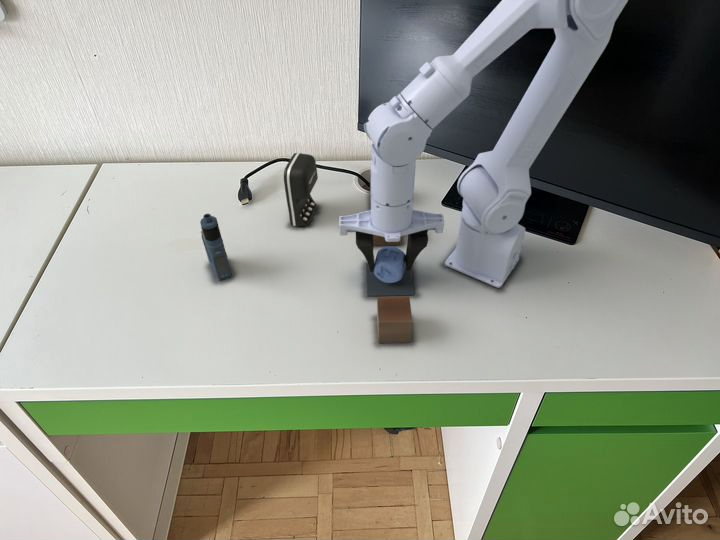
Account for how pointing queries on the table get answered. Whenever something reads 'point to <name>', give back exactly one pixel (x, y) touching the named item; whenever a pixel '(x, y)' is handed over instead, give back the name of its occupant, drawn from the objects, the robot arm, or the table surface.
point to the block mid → (382, 241)
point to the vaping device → (215, 247)
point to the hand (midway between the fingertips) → (389, 266)
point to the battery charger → (300, 188)
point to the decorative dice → (389, 264)
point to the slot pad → (389, 285)
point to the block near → (394, 319)
